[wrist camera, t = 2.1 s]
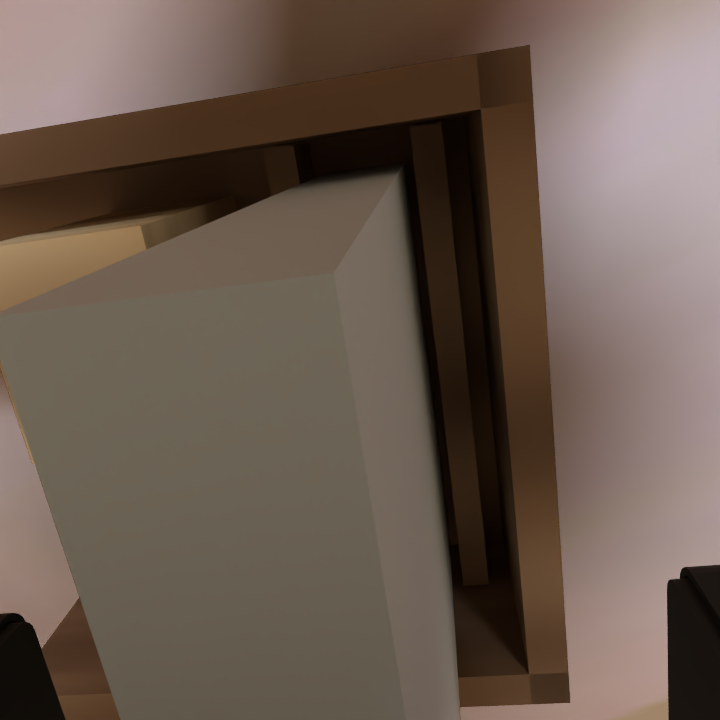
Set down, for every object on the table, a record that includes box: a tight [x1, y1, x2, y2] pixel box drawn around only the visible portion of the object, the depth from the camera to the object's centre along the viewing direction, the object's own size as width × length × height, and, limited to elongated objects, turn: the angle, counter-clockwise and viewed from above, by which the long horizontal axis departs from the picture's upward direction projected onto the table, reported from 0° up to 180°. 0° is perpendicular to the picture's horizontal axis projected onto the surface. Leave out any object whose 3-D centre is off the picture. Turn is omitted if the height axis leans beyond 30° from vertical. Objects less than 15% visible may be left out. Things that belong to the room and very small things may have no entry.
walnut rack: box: [0, 45, 570, 720], centre depth 19 cm, size 16×16×7 cm
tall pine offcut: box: [0, 195, 237, 464], centre depth 18 cm, size 5×4×7 cm
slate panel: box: [0, 162, 461, 720], centre depth 14 cm, size 12×2×16 cm, turn 8°
